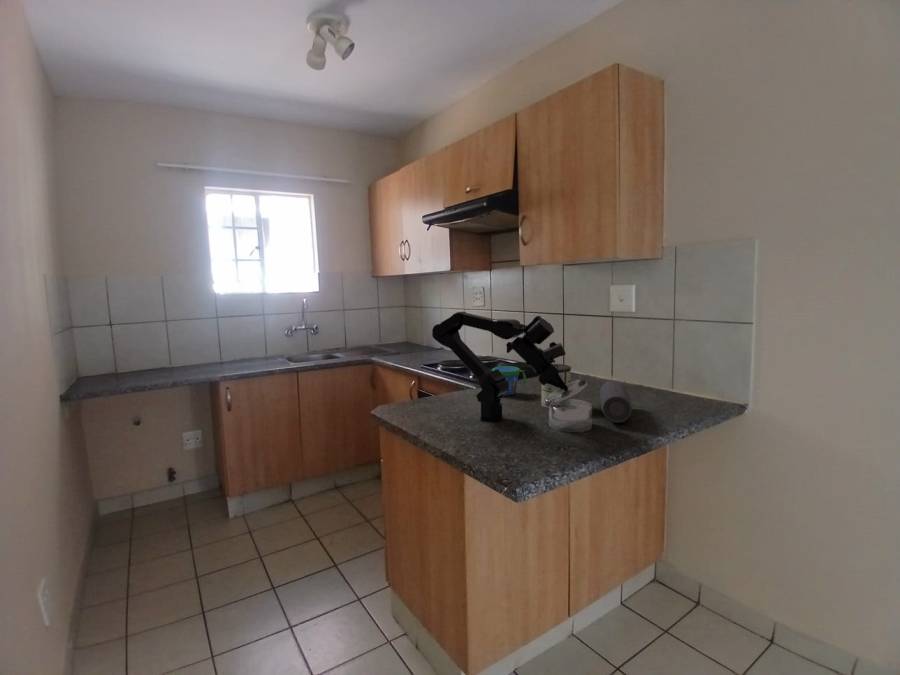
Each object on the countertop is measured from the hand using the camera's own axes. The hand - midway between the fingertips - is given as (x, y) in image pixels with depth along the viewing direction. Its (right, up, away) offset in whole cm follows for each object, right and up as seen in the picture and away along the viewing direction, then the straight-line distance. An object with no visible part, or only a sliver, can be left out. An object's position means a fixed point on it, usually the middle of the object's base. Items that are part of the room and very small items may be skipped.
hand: (566, 389), depth 134 cm
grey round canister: (+1, -11, +1) cm, 11 cm away
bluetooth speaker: (+18, -10, +11) cm, 24 cm away
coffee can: (+2, -9, +24) cm, 26 cm away
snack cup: (-13, -7, +42) cm, 44 cm away
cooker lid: (0, -1, 0) cm, 1 cm away
